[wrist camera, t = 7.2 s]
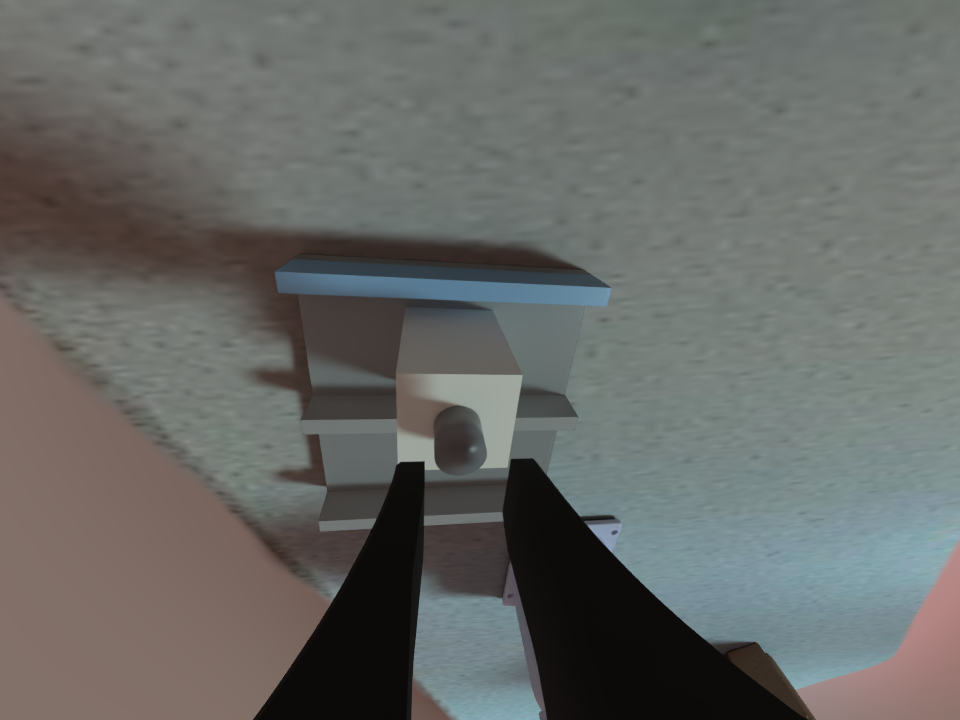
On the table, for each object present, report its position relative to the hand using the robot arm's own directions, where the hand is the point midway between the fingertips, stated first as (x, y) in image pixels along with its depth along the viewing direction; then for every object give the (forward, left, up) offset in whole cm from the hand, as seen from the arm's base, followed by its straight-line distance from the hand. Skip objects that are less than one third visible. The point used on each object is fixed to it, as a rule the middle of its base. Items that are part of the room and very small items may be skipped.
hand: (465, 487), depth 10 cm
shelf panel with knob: (-3, 0, -10) cm, 10 cm away
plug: (0, 0, -9) cm, 9 cm away
